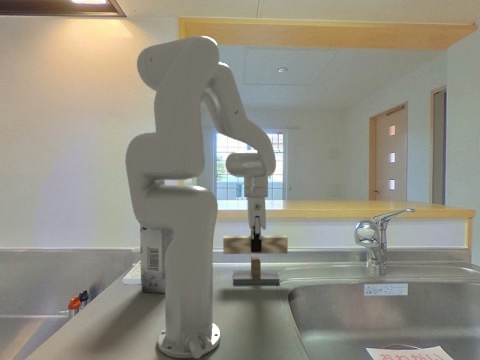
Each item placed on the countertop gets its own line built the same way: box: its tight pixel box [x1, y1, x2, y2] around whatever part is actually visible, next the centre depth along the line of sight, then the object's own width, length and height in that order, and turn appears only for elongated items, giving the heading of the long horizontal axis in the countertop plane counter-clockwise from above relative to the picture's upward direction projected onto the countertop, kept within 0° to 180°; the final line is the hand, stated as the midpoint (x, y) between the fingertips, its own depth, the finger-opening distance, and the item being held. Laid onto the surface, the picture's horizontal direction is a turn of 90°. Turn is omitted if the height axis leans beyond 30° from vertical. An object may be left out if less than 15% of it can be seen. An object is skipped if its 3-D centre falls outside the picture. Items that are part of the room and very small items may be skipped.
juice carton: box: [139, 223, 175, 294], centre depth 87 cm, size 9×10×27 cm
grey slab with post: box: [232, 254, 281, 285], centre depth 94 cm, size 8×14×6 cm, turn 91°
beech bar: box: [222, 234, 289, 255], centre depth 94 cm, size 20×3×5 cm, turn 91°
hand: (255, 249), depth 94 cm, fingers closed on beech bar, 3 cm apart
